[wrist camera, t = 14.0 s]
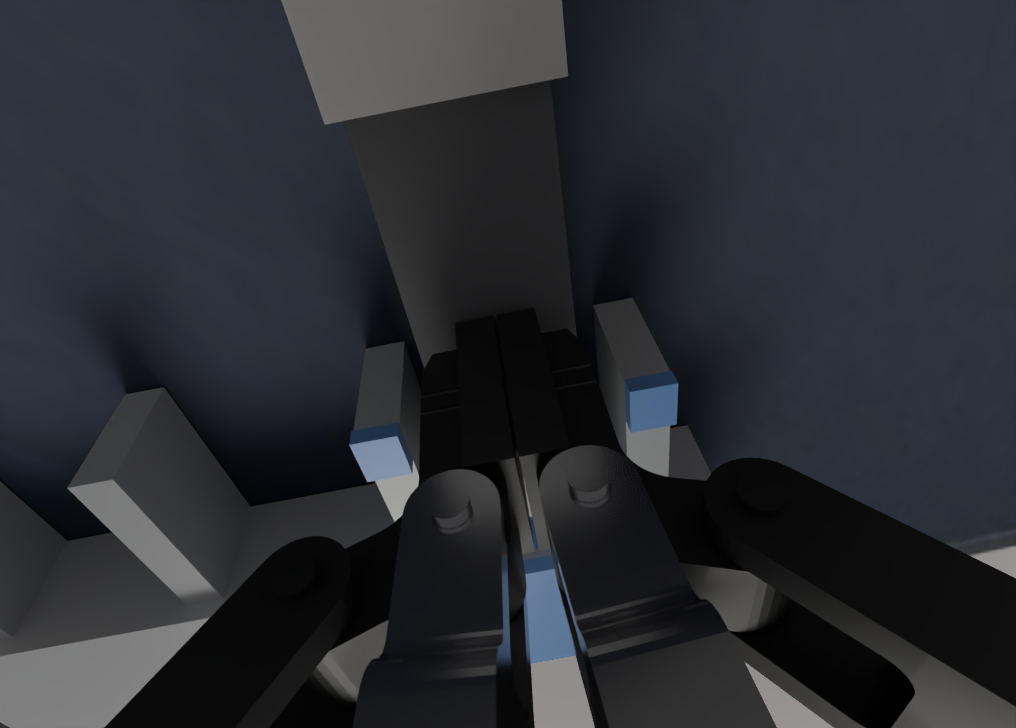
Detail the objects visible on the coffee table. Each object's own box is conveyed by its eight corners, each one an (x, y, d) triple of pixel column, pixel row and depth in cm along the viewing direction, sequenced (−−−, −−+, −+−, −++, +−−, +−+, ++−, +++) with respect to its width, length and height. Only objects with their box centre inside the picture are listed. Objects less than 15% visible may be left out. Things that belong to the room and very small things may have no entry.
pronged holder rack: (-161, 445, 15) (-316, 587, 12) (696, 282, 14) (768, 384, 11) (85, 631, 21) (27, 754, 18) (681, 521, 21) (724, 628, 18)
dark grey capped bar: (301, -97, 9) (247, -97, 6) (513, -141, 9) (547, -159, 6) (460, 429, 17) (465, 529, 14) (576, 407, 17) (603, 503, 14)
